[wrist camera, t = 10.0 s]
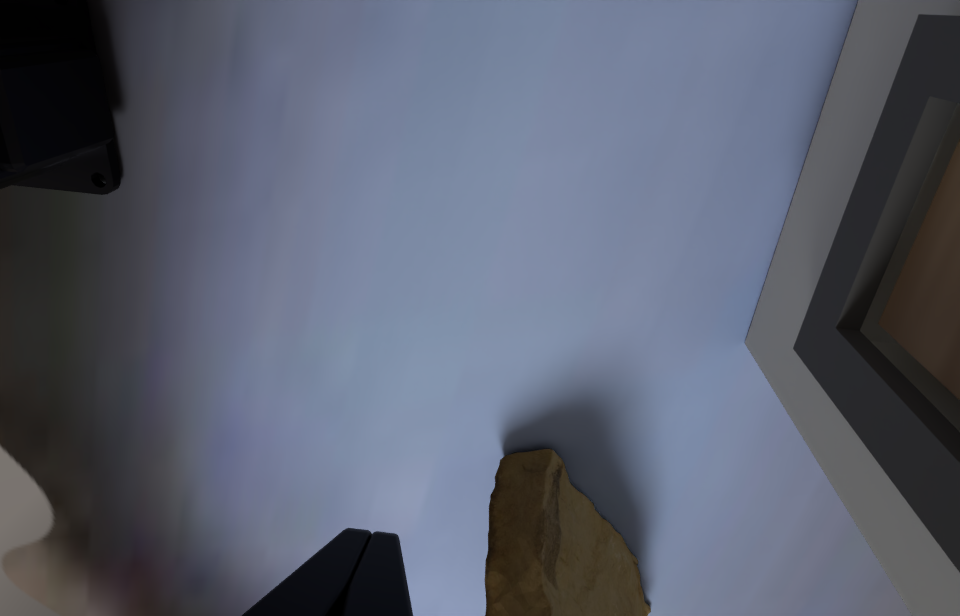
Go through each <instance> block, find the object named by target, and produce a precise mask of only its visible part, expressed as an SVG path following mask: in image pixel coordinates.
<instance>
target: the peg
mask: <svg viewBox="0 0 960 616" xmlns="http://www.w3.org/2000/svg"><path fill="white" fill-rule="evenodd" d="M878 324H879V325H880V326H881V327H882V328H883V329H884V330H885V331H886V332H887V333H888V334H889V335H890V336H892V337H893V338H894V339H895V340H896V341H897V342H898V343H899V344H900V345H901V346H902V347H903V348H904V349H905V350H906V351H908V352H909V353H910V354H911V355H912V356H913V357H914V358H915V359H916V360H917V361H918V362H919V363H920V364H921V365H922V366H923V367H925V368H926V369H927V370H928V371H929V372H930V373H931V374H932V375H933V376H934V377H935V378H936V379H937V380H938V381H939V382H940V383H942V384H943V385H944V386H945V387H946V388H947V389H948V390H949V391H950V392H951V393H952V394H953V395H954V396H955V397H956V398H957V399H959V400H960V139H959V141H958V144H957V146H956V148H955V150H954V153H953V155H952V157H951V159H950V162H949V164H948V166H947V168H946V171H945V173H944V175H943V178H942V180H941V182H940V184H939V187H938V189H937V191H936V193H935V196H934V198H933V200H932V202H931V205H930V207H929V209H928V211H927V214H926V216H925V218H924V220H923V223H922V225H921V227H920V229H919V232H918V234H917V236H916V239H915V241H914V243H913V245H912V248H911V250H910V252H909V254H908V257H907V259H906V261H905V263H904V266H903V268H902V270H901V272H900V275H899V277H898V279H897V281H896V284H895V286H894V288H893V291H892V293H891V295H890V297H889V300H888V302H887V304H886V306H885V309H884V311H883V313H882V315H881V318H880V320H879V322H878Z"/></svg>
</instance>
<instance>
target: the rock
mask: <svg viewBox="0 0 960 616" xmlns="http://www.w3.org/2000/svg"><path fill="white" fill-rule="evenodd" d="M495 482H496V483H495V488H494V490H493V492H492V494H491V496H490V497H491V500H490V504H489V533H488V554H487V558H486V567H485V589H486V615H485V616H647V615H648V614H649V613H650V612H651V609H650V606H649V605H648V604H646V603H645V601H644V596H643V591H642V587H641V585H640V573H639V570H638V568H637V564H638V560H637V558H636V557H635V556H634V555H633V554H632V553H631V552H630V551H629V549H628V547H627V546H626V543H625V542H624V539H623V538H622V536H621V535H620V534H619V533H617V532H616V531H615V530H614V528H613V527H612V525H611V524H610V523H609V522H608V521H607V520H605V519H603V518H601V516H600V515H599V513H598V512H597V511H596V510H595V509H594V504H593V503H592V502H591V501H590V500H589V499H588V498H587V497H586V496H585V495H584V494H583V493H581V492H579V491H577V490H576V489H575V488H574V487H573V486H572V484H571V483H570V481H569V478H568V474H567V472H566V469H565V464H564V462H563V460H562V458H560V457H559V456H558V455H557V454H556V453H555V452H554V450H552V449H541V450H535V451H530V452H516V453H513V454H510V455H506V456H504V457H503V458H502V459H501V460H500V465H499V468H498V470H497V473H496V476H495Z"/></svg>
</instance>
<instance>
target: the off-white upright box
mask: <svg viewBox="0 0 960 616" xmlns="http://www.w3.org/2000/svg"><path fill="white" fill-rule="evenodd" d="M959 139H960V0H858V3H857V7H856V10H855V13H854V16H853V19H852V22H851V25H850V28H849V31H848V34H847V37H846V40H845V43H844V46H843V49H842V52H841V55H840V58H839V61H838V64H837V67H836V70H835V73H834V76H833V79H832V82H831V85H830V88H829V91H828V94H827V97H826V100H825V103H824V106H823V109H822V112H821V115H820V118H819V121H818V124H817V127H816V130H815V133H814V136H813V139H812V142H811V145H810V148H809V151H808V154H807V157H806V160H805V163H804V166H803V169H802V172H801V175H800V178H799V181H798V184H797V187H796V190H795V193H794V196H793V199H792V202H791V205H790V208H789V211H788V214H787V217H786V220H785V223H784V226H783V229H782V232H781V235H780V238H779V241H778V244H777V247H776V250H775V253H774V256H773V259H772V262H771V265H770V268H769V271H768V274H767V277H766V280H765V283H764V286H763V289H762V292H761V295H760V298H759V301H758V304H757V307H756V310H755V314H754V317H753V320H752V323H751V326H750V329H749V332H748V335H747V338H746V341H745V345H746V346H747V348H748V350H749V351H750V353H751V354H752V356H753V358H754V359H755V361H756V363H757V364H758V366H759V367H760V369H761V371H762V372H763V374H764V376H765V377H766V379H767V380H768V382H769V384H770V385H771V387H772V389H773V390H774V392H775V393H776V395H777V397H778V398H779V400H780V402H781V403H782V405H783V406H784V408H785V410H786V411H787V413H788V415H789V416H790V418H791V419H792V421H793V423H794V424H795V426H796V428H797V429H798V431H799V432H800V434H801V436H802V437H803V439H804V441H805V442H806V444H807V445H808V447H809V449H810V450H811V452H812V454H813V455H814V457H815V458H816V460H817V462H818V463H819V465H820V467H821V468H822V470H823V471H824V473H825V475H826V476H827V478H828V480H829V481H830V483H831V484H832V486H833V488H834V489H835V491H836V493H837V494H838V496H839V497H840V499H841V501H842V502H843V504H844V506H845V507H846V509H847V510H848V512H849V514H850V515H851V517H852V519H853V520H854V522H855V523H856V525H857V527H858V528H859V530H860V532H861V533H862V535H863V536H864V538H865V540H866V541H867V543H868V545H869V546H870V548H871V549H872V551H873V553H874V554H875V556H876V558H877V559H878V561H879V562H880V564H881V566H882V567H883V569H884V571H885V572H886V574H887V575H888V577H889V579H890V580H891V582H892V584H893V585H894V587H895V588H896V590H897V592H898V593H899V595H900V597H901V598H902V600H903V601H904V603H905V605H906V606H907V608H908V610H909V611H910V613H911V614H912V616H960V400H959V399H957V398H956V397H955V396H954V395H953V394H952V393H951V392H950V391H949V390H948V389H947V388H946V387H945V386H944V385H943V384H942V383H940V382H939V381H938V380H937V379H936V378H935V377H934V376H933V375H932V374H931V373H930V372H929V371H928V370H927V369H926V368H925V367H923V366H922V365H921V364H920V363H919V362H918V361H917V360H916V359H915V358H914V357H913V356H912V355H911V354H910V353H909V352H908V351H906V350H905V349H904V348H903V347H902V346H901V345H900V344H899V343H898V342H897V341H896V340H895V339H894V338H893V337H892V336H890V335H889V334H888V333H887V332H886V331H885V330H884V329H883V328H882V327H881V326H880V325H879V324H878V322H879V320H880V318H881V315H882V313H883V311H884V309H885V306H886V304H887V302H888V300H889V297H890V295H891V293H892V291H893V288H894V286H895V284H896V281H897V279H898V277H899V275H900V272H901V270H902V268H903V266H904V263H905V261H906V259H907V257H908V254H909V252H910V250H911V248H912V245H913V243H914V241H915V239H916V236H917V234H918V232H919V229H920V227H921V225H922V223H923V220H924V218H925V216H926V214H927V211H928V209H929V207H930V205H931V202H932V200H933V198H934V196H935V193H936V191H937V189H938V187H939V184H940V182H941V180H942V178H943V175H944V173H945V171H946V168H947V166H948V164H949V162H950V159H951V157H952V155H953V153H954V150H955V148H956V146H957V144H958V141H959Z"/></svg>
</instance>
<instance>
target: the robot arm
mask: <svg viewBox="0 0 960 616" xmlns="http://www.w3.org/2000/svg"><path fill="white" fill-rule="evenodd" d="M113 137H114V133H113V128H112V123H111V117H110V112H109V107H108V102H107V97H106V91H105V86H104V81H103V76H102V70H101V65H100V60H99V58H98V57H97V54H96V49H95V44H94V38H93V33H92V28H91V23H90V18H89V12H88V7H87V2H86V0H69V2H68V3H67V4H66V3H65V2H64V1H63V0H0V189H2V188H5V187H8V186H10V185H17V186H26V187H35V188H45V189H54V190H63V191H73V192H82V193H91V194H101V195H103V194H108V193H111V192H113V191H115V190H116V189H118V188H119V186H120V174H119V168H118V163H117V158H116V153H115V148H114V142H113ZM99 173H100V174H102V175H103V176H104V177H105V179H106V184H105V183H103V182H102V181H101V180H100V178H99ZM242 616H413V613H412V607H411V602H410V596H409V591H408V585H407V580H406V574H405V568H404V563H403V557H402V552H401V546H400V541H399V537H398V535H397V534H394V533H386V532H379V531H376V532H374V533H373V534H372V533H371V532H370V531H369V530H362V529H354V528H347V529H345V530H343V531H342V532H341V533H340V534H338V535H337V536H336V537H335V538H334V539H333V540H331V541H330V542H329V543H328V544H327V545H325V546H324V547H323V548H322V549H321V550H319V551H318V552H317V553H316V554H315V555H313V556H312V557H311V558H310V559H309V560H307V561H306V562H305V563H304V564H303V565H301V566H300V567H299V568H298V569H297V570H295V571H294V572H293V573H292V574H291V575H289V576H288V577H287V578H286V579H285V580H284V581H282V582H281V583H280V584H279V585H278V586H276V587H275V588H274V589H273V590H272V591H270V592H269V593H268V594H267V595H266V596H264V597H263V598H262V599H261V600H260V601H258V602H257V603H256V604H255V605H254V606H252V607H251V608H250V609H249V610H248V611H246V612H245V613H244V614H243V615H242Z"/></svg>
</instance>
